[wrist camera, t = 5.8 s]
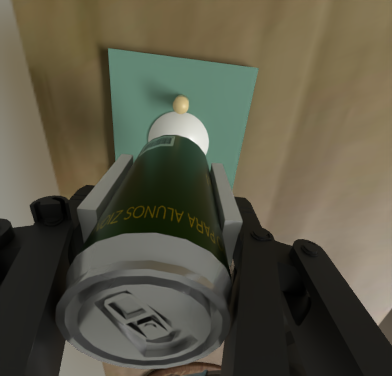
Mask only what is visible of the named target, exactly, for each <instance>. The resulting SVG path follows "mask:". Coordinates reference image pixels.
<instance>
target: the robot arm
mask: <svg viewBox="0 0 392 376" xmlns="http://www.w3.org/2000/svg"><path fill="white" fill-rule="evenodd" d="M132 165H133V155H128V154H121V155H120V157H119V158H118V159H117V160H116V162H115V163H114V164H113V165H112V166H111V168H110V169H109V170H108V171H107V172H106V174H105V175H104V176H103V177H102V178H101V180H100V181H99V182H98V183H97V185H96V186H93V185H86V186H84V187H82V188H80V189H79V190H78V191H77V192H76V193H75V194H74V195H73V196H72V197H71V198H70V200H68V199H67V198H66V197H62V196H48V197H43V198H40V199H38V200H36V201H34V202H33V203H32V204H31V205H30V209H31V212H32V215H33V218H34V222H35V223H34V225H31V226H24V227H16V228H12V225H11V223H10V222H9V221H8V220H7V219H0V376H59V371H60V366H61V361H62V355H63V351H64V345H65V339H64V337H63V335H62V334H61V332H60V330H59V328H58V326H57V325H56V306H57V304H58V302H59V301H60V299H61V297H62V296H63V294H64V293H65V291H66V272H67V271H68V269H69V267H70V266H71V264H72V262H73V261H74V259H75V258H76V256H77V254H78V253H79V251H80V249H81V248H82V246H83V245H84V243H85V241H86V240H87V238H88V236H89V235H90V233H91V232H92V230H93V228H94V227H95V225H96V223H97V222H98V220H99V219H100V217H101V215H102V214H103V212H104V210H105V209H106V207H107V206H108V204H109V202H110V201H111V199H112V197H113V196H114V194H115V193H116V191H117V189H118V188H119V186H120V184H121V183H122V181H123V180H124V178H125V176H126V175H127V173H128V171H129V170H130V168H131V167H132ZM210 175H211V180H212V185H213V190H214V195H215V200H216V205H217V210H218V215H219V220H220V225H221V229H222V234H223V239H224V244H225V249H226V254H227V259H228V264H229V266H231V263H232V259H233V260H234V264H235V266H234V270H233V274H232V277H231V279H232V284H233V287H232V297H231V303H230V306H229V310H230V316H231V321H230V330H229V334H228V335H227V337H226V338H225V341H224V349H223V358H222V366H221V370H214V371H208V370H204V371H203V372H200V373H194V374H188V375H183V376H392V345H391V344H390V342H389V341H388V340H387V338H386V337H385V335H384V334H383V333H382V332H381V330H380V328H379V327H378V326H377V324H376V323H375V321H374V320H373V319H372V317H371V316H370V314H369V313H368V312H367V310H366V309H365V307H364V306H363V304H362V303H361V302H360V300H359V299H358V297H357V296H356V295H355V293H354V292H353V290H352V289H351V288H350V286H349V285H348V283H347V282H346V281H345V279H344V278H343V276H342V275H341V274H340V272H339V271H338V269H337V268H336V266H335V265H334V264H333V262H332V261H331V259H330V258H329V257H328V255H327V254H326V252H325V251H324V250H323V249H322V248H321V247H320V246H318V245H317V244H315V243H313V242H311V241H309V240H304V239H298V240H296V241H294V243H293V246H290V245H287V244H284V243H280V242H277V241H275V240H274V237H273V235H272V234H271V233H270V232H269V231H267V230H266V229H264V228H262V227H261V225H260V222H259V220H258V218H257V216H256V214H255V212H254V209H253V207H252V205H251V203H250V202H249V201H248V200H247V199H246V198H241V197H234V195H233V192H232V190H231V187H230V184H229V181H228V178H227V175H226V173H225V170H224V167H223V164H221V163H211V170H210Z"/></svg>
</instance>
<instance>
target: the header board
mask: <svg viewBox="0 0 392 376" xmlns="http://www.w3.org/2000/svg"><path fill="white" fill-rule="evenodd" d="M108 56H109V71H110V86H111V101H112V116H113V131H114V146H115V161H116V160H117V159H118V158H119V157H120V155H121V154H128V155H133V163H134V162H135V160H136V158H137V157H138V155H139V154H140V152H141V150H142V149H143V147H144V146H145V145H146V144H147V143H149V142H150V141H151V140H152V139H154V138H157V137H160V136H163V135H179V136H183V137H186V138H189V139H190V140H192V141H193V142H194V143H196V144H197V145H198V146H199V147H200V148H201V149H202V151H203V152H204V153H205V156H206V159H207V162H208V165H209V170H211V163H221V164H223V167H224V170H225V173H226V175H227V178H228V181H229V184H230V187H231V190H232V188H233V183H234V179H235V174H236V169H237V165H238V160H239V156H240V151H241V146H242V142H243V137H244V133H245V128H246V123H247V119H248V114H249V110H250V105H251V100H252V96H253V91H254V87H255V82H256V77H257V73H258V68H253V67H246V66H238V65H231V64H223V63H216V62H208V61H201V60H193V59H186V58H178V57H171V56H163V55H155V54H148V53H140V52H133V51H125V50H118V49H110V48H108Z"/></svg>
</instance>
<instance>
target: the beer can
mask: <svg viewBox="0 0 392 376" xmlns="http://www.w3.org/2000/svg"><path fill="white" fill-rule="evenodd" d="M232 287H233V284H232V279H231V274H230V269H229V264H228V259H227V254H226V249H225V244H224V239H223V234H222V229H221V225H220V220H219V215H218V210H217V205H216V200H215V195H214V190H213V185H212V180H211V175H210V170H209V165H208V162H207V159H206V156H205V153H204V152H203V151H202V149H201V148H200V147H199V146H198V145H197V144H196V143H194V142H193V141H192V140H190V139H189V138H186V137H183V136H179V135H163V136H160V137H157V138H154V139H152V140H151V141H150V142H149V143H147V144H146V145H145V146H144V147H143V149H142V150H141V152H140V154H139V155H138V157H137V158H136V160H135V162H134V163H133V165H132V167H131V168H130V170H129V171H128V173H127V175H126V176H125V178H124V180H123V181H122V183H121V184H120V186H119V188H118V189H117V191H116V193H115V194H114V196H113V197H112V199H111V201H110V202H109V204H108V206H107V207H106V209H105V210H104V212H103V214H102V215H101V217H100V219H99V220H98V222H97V223H96V225H95V227H94V228H93V230H92V232H91V233H90V235H89V236H88V238H87V240H86V241H85V243H84V245H83V246H82V248H81V249H80V251H79V253H78V254H77V256H76V258H75V259H74V261H73V262H72V264H71V266H70V267H69V269H68V271H67V272H66V291H65V293H64V294H63V296H62V297H61V299H60V301H59V302H58V304H57V306H56V325H57V326H58V328H59V330H60V332H61V334H62V335H63V337H64V339H65V340H67V341H68V342H69V343H70V344H71V345H73V346H74V347H75V348H76V349H77V350H78V351H80V352H82V353H84V354H86V355H88V356H90V357H92V358H94V359H97V360H99V361H102V362H106V363H109V364H113V365H117V366H120V367H129V368H138V369H160V368H170V367H175V366H180V365H185V364H188V363H191V362H194V361H196V360H199V359H201V358H204V357H206V356H207V355H209V354H210V353H211V352H213V351H214V350H216V349H217V348H218V347H220V346H221V344H222V343H223V341H224V340H225V338H226V337H227V335H228V334H229V330H230V321H231V316H230V310H229V306H230V303H231V297H232Z"/></svg>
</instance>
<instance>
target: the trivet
mask: <svg viewBox="0 0 392 376" xmlns="http://www.w3.org/2000/svg"><path fill="white" fill-rule="evenodd" d="M204 370H208V371H214V370H221V366H219V365H216V364H211V363H203V362H191V363H188V364H185V365H180V366H175V367H170V368H160V369H157V370H155V371H153V372H151V373H150V374H149V375H148V376H183V375H188V374H194V373H200V372H203V371H204Z"/></svg>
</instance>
